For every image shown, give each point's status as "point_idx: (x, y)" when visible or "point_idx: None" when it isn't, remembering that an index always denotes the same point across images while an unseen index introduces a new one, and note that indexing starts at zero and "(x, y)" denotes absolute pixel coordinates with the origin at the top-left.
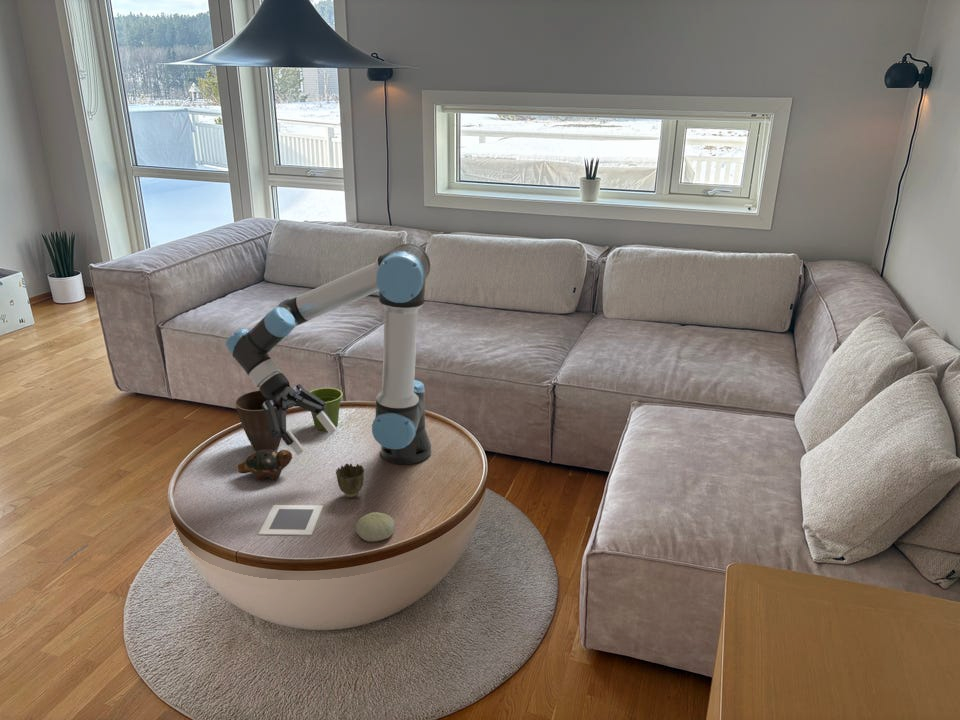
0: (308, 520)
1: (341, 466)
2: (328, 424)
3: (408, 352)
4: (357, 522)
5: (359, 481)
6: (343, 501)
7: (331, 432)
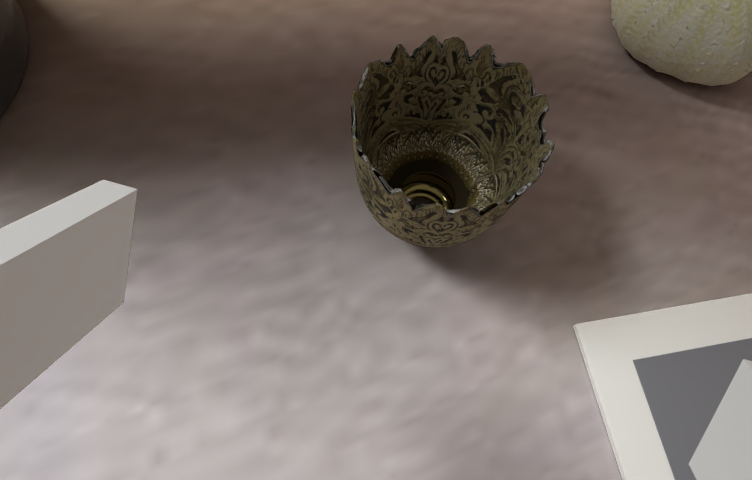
0: (740, 342)
1: (404, 195)
2: (66, 268)
3: None
4: (747, 51)
5: (477, 84)
6: (486, 237)
7: (122, 270)
